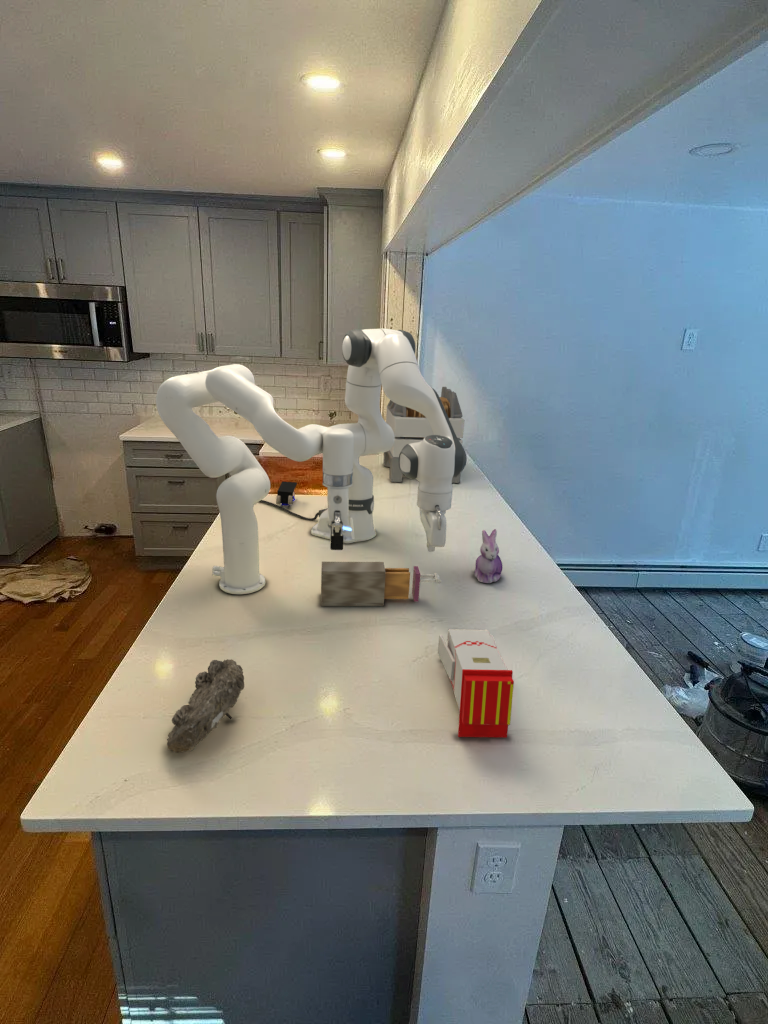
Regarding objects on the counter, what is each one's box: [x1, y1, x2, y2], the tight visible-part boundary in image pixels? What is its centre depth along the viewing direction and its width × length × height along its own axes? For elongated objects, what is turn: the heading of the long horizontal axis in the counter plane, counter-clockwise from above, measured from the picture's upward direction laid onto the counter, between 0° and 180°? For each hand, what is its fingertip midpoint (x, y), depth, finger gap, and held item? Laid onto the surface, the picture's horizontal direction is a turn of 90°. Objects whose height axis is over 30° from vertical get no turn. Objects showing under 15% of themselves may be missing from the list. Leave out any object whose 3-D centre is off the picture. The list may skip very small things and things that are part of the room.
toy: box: [437, 628, 515, 738], centre depth 117 cm, size 12×13×30 cm
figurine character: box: [275, 480, 298, 509], centre depth 223 cm, size 7×8×15 cm
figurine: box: [474, 528, 503, 584], centre depth 167 cm, size 9×10×15 cm
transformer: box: [383, 386, 465, 484], centre depth 268 cm, size 34×33×41 cm
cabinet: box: [320, 561, 386, 607], centre depth 152 cm, size 17×6×10 cm, turn 95°
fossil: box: [166, 658, 245, 754], centre depth 106 cm, size 22×10×15 cm
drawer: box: [384, 565, 442, 603], centre depth 153 cm, size 21×5×8 cm, turn 95°
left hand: (336, 541), depth 147 cm, fingers open, 9 cm apart
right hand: (430, 549), depth 150 cm, fingers closed
